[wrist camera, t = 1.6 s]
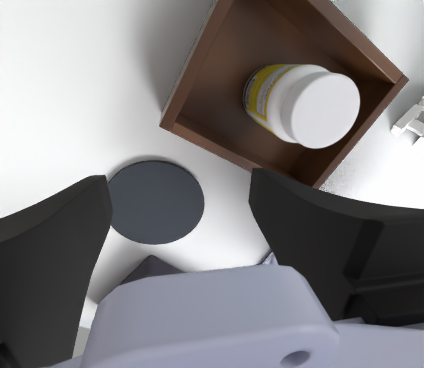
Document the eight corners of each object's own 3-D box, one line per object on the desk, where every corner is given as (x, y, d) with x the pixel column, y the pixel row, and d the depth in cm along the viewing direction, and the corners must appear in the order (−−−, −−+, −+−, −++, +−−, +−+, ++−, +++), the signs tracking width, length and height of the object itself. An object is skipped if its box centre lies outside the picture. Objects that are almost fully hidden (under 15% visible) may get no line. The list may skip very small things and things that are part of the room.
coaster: (221, 184, 24) (221, 186, 23) (178, 251, 27) (178, 254, 27) (125, 142, 20) (124, 143, 20) (90, 225, 23) (89, 228, 23)
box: (365, 76, 21) (410, 79, 17) (287, 179, 25) (309, 201, 21) (233, -42, 15) (253, -76, 12) (161, 113, 19) (158, 126, 15)
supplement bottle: (301, 105, 20) (373, 129, 13) (255, 132, 21) (299, 170, 14) (283, 51, 18) (359, 44, 11) (232, 83, 19) (271, 98, 11)
